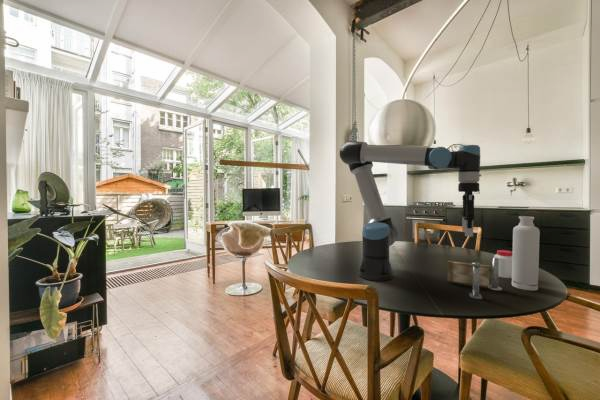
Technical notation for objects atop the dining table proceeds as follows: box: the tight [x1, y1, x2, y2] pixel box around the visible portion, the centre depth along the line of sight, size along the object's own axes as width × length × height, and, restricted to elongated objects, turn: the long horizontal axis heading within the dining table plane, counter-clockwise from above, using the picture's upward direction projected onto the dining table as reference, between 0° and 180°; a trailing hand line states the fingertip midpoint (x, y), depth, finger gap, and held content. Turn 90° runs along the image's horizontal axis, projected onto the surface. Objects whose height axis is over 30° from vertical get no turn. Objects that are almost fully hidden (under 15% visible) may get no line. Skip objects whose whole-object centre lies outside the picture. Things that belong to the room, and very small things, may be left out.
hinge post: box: [487, 257, 503, 292], centre depth 105 cm, size 4×4×12 cm
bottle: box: [511, 215, 541, 292], centre depth 107 cm, size 8×8×28 cm
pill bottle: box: [493, 249, 512, 279], centre depth 122 cm, size 8×8×11 cm
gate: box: [447, 260, 492, 287], centre depth 109 cm, size 15×2×8 cm, turn 64°
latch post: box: [468, 261, 483, 300], centre depth 98 cm, size 4×4×12 cm
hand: (467, 233), depth 115 cm, fingers open, 11 cm apart
